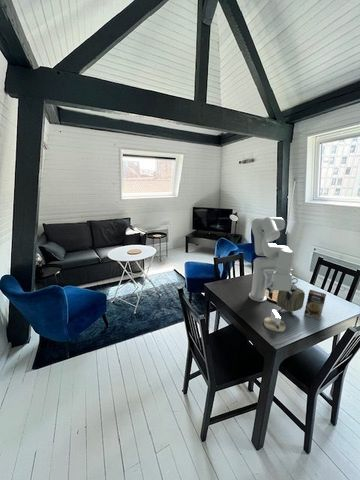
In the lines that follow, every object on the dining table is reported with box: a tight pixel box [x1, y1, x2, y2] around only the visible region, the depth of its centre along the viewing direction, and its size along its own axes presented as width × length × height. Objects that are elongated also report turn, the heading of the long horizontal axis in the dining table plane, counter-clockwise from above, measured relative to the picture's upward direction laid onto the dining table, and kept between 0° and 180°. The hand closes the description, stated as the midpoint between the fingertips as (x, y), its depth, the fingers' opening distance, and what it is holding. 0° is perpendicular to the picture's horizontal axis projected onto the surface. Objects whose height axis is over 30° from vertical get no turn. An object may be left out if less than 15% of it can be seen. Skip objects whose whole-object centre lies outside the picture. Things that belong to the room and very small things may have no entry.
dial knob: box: [270, 309, 282, 329], centre depth 123 cm, size 10×2×6 cm, turn 176°
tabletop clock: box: [276, 277, 306, 316], centre depth 134 cm, size 14×9×25 cm, turn 113°
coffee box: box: [303, 289, 327, 321], centre depth 134 cm, size 9×6×16 cm
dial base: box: [263, 316, 287, 333], centre depth 125 cm, size 12×12×2 cm
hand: (278, 298), depth 120 cm, fingers open, 9 cm apart
